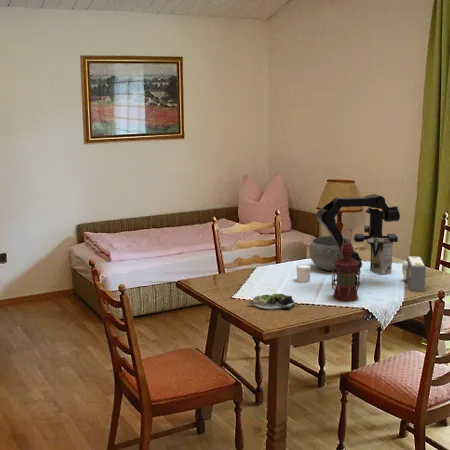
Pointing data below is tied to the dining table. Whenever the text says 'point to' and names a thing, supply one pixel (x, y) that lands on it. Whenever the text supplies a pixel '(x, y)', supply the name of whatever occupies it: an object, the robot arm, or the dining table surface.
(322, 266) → the bowl
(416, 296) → the dining table surface
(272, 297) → the salad plate
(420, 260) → the console
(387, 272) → the coffee box
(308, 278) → the white cup
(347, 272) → the lantern
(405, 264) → the cream button
